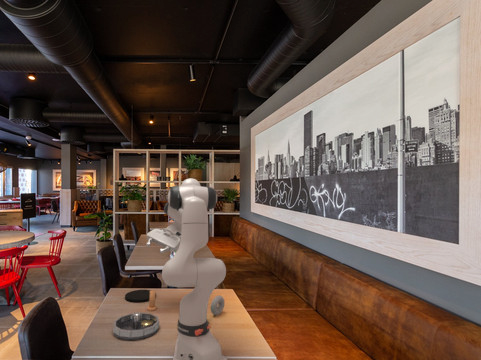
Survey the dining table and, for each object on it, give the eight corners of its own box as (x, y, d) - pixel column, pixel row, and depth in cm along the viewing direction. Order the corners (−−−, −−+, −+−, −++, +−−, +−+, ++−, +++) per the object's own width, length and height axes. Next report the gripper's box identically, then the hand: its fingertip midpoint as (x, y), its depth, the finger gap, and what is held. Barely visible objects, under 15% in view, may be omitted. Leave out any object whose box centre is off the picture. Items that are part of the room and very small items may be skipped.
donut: (214, 318, 163) (214, 299, 163) (208, 317, 165) (209, 297, 165) (225, 312, 171) (226, 294, 171) (220, 311, 173) (221, 292, 173)
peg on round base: (158, 309, 172) (159, 291, 172) (150, 312, 168) (151, 293, 168) (153, 307, 175) (153, 289, 175) (145, 309, 171) (146, 291, 171)
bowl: (167, 329, 149) (167, 313, 149) (128, 345, 133) (129, 327, 133) (142, 317, 161) (143, 302, 161) (104, 330, 146) (105, 313, 146)
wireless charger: (121, 303, 179) (121, 300, 179) (128, 292, 196) (128, 289, 196) (153, 303, 181) (153, 299, 181) (157, 292, 199) (157, 289, 199)
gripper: (156, 223, 180) (138, 237, 169) (185, 236, 172) (168, 251, 161) (157, 231, 183) (139, 245, 172) (185, 245, 175) (169, 260, 164)
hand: (153, 248), depth 167 cm, fingers open, 8 cm apart
